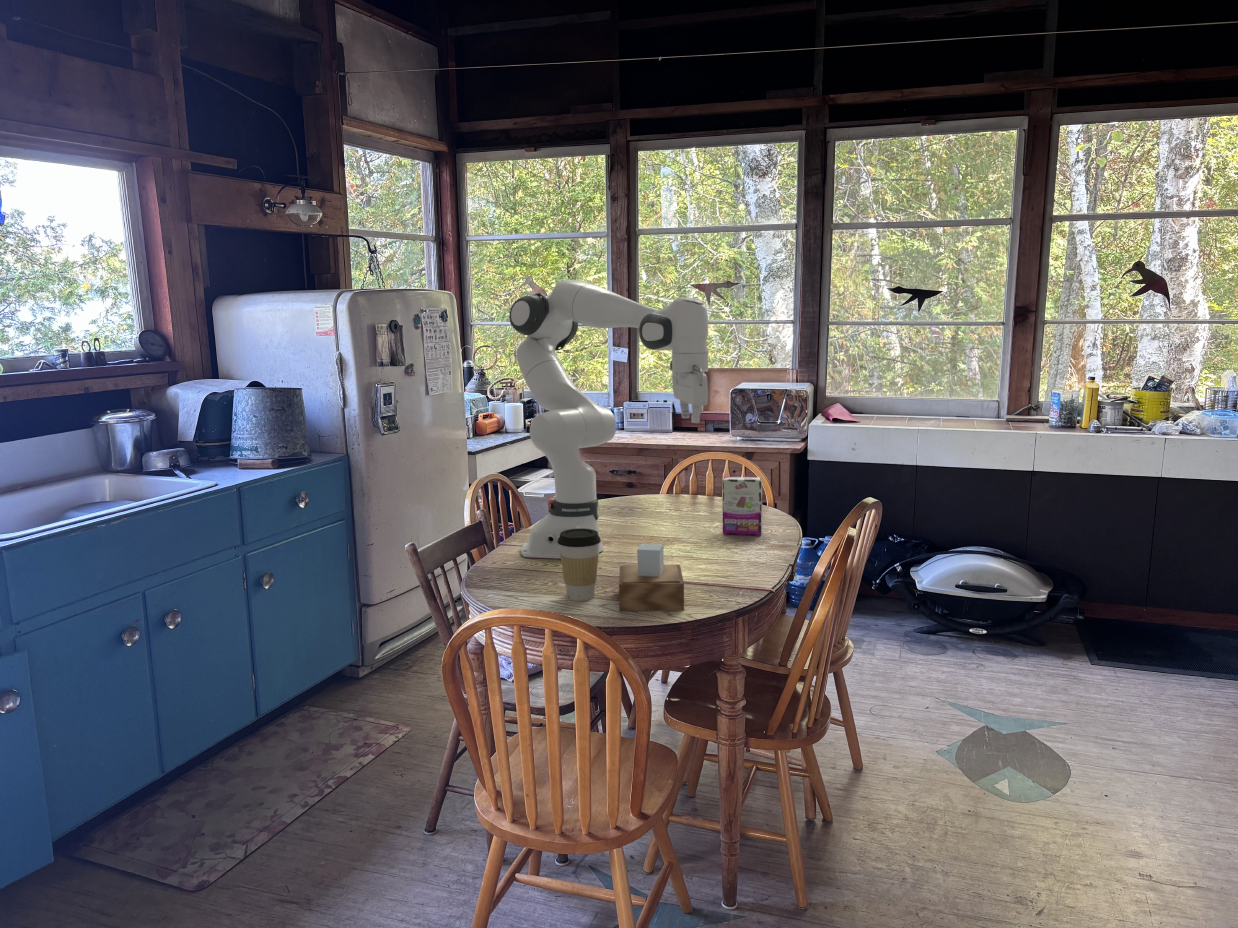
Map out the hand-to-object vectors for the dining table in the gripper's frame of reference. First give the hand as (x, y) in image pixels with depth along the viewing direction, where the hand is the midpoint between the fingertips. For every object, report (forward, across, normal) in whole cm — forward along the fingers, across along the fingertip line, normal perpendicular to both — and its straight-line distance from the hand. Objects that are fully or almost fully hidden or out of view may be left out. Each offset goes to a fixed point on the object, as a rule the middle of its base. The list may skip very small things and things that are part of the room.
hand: (690, 420), depth 213 cm
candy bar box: (+37, +26, -22) cm, 51 cm away
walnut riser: (+37, -24, +16) cm, 47 cm away
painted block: (+31, -24, +16) cm, 42 cm away
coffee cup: (+37, -18, +31) cm, 52 cm away
